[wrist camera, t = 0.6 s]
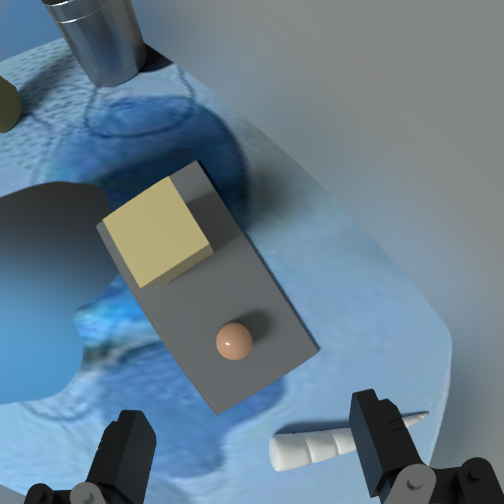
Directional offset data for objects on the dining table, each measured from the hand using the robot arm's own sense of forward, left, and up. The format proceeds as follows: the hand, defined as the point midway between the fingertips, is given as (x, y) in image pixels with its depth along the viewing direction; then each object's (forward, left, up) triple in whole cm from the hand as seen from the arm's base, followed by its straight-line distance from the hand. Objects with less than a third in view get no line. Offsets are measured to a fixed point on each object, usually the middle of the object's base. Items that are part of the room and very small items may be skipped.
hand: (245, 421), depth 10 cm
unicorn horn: (+21, +5, -23) cm, 32 cm away
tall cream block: (-11, -1, -23) cm, 25 cm away
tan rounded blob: (+1, -1, -23) cm, 23 cm away
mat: (-5, -1, -23) cm, 24 cm away
